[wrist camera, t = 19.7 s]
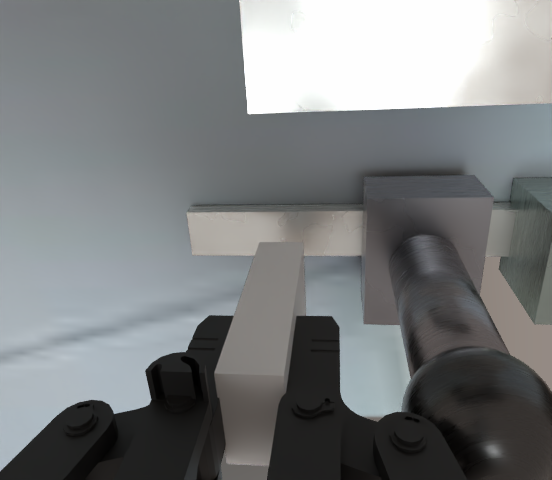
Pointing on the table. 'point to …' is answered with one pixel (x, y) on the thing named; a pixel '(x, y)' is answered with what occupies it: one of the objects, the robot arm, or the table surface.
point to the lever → (452, 324)
